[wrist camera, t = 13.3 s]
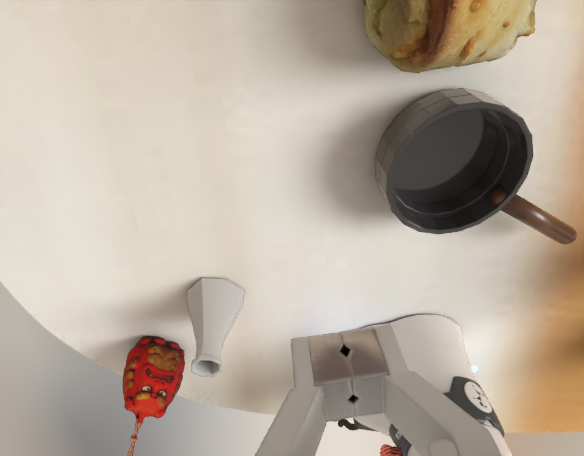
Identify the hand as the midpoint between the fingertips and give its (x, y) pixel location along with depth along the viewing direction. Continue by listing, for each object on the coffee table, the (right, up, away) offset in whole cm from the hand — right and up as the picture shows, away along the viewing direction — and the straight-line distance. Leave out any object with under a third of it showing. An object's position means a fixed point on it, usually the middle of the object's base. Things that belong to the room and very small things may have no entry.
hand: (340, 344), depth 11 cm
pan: (+13, +11, +26) cm, 31 cm away
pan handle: (+23, +5, +28) cm, 36 cm away
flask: (-11, -5, +35) cm, 37 cm away
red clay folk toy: (-20, -13, +40) cm, 47 cm away
